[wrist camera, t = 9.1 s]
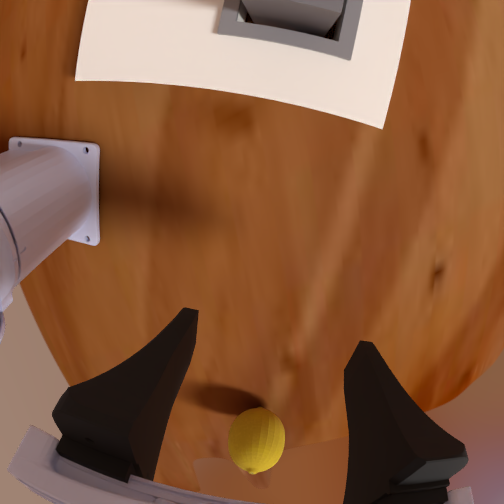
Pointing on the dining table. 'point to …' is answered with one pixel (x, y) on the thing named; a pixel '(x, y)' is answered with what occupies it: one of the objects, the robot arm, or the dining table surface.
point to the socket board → (249, 52)
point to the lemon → (256, 440)
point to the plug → (296, 14)
